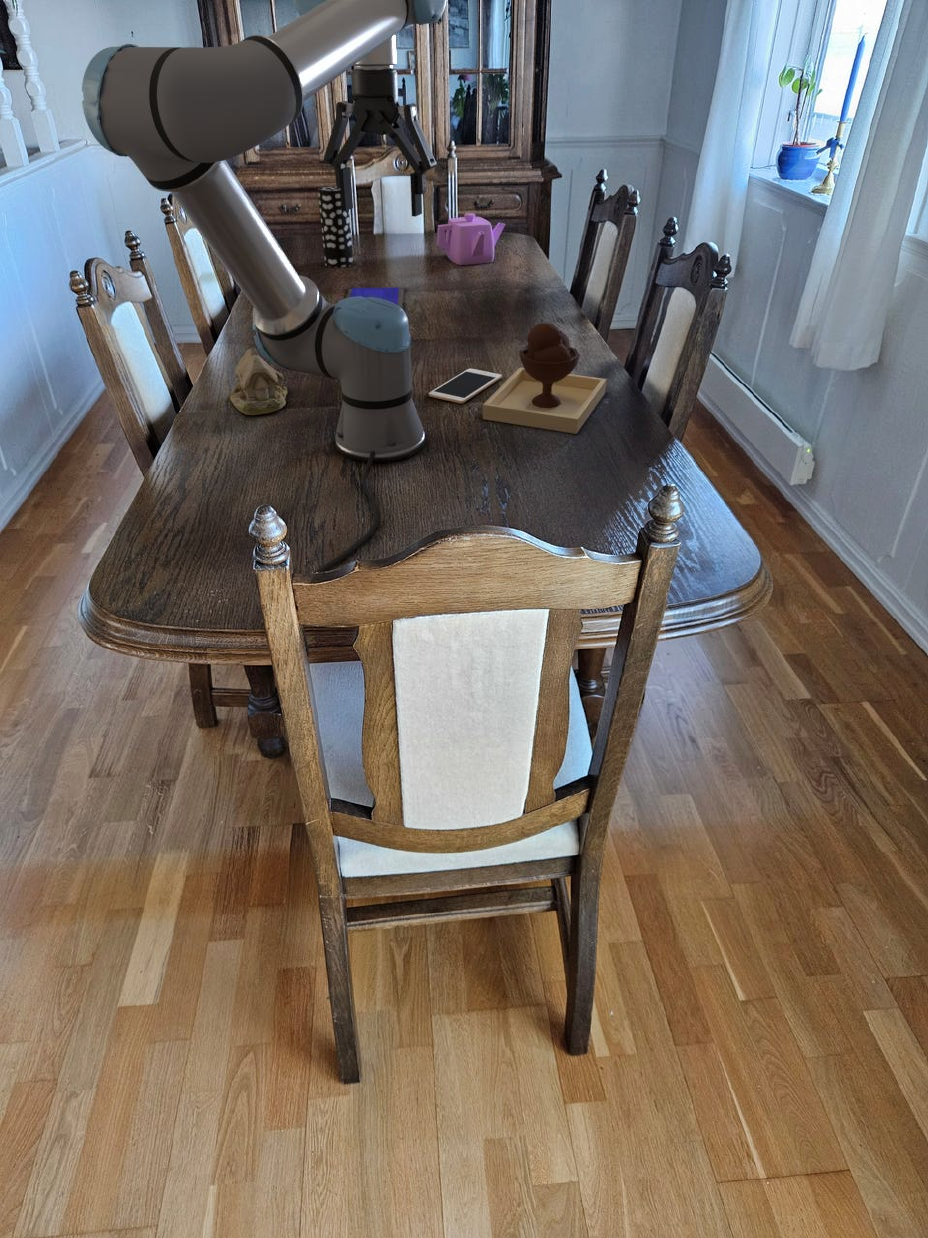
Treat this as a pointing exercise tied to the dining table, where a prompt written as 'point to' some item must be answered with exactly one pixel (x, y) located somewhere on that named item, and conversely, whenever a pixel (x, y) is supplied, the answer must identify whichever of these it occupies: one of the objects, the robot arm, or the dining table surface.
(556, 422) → the tray
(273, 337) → the robot arm
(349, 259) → the spotted tube
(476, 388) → the cell phone
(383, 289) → the booklet
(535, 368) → the ice cream bowl
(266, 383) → the ceramic model
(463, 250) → the teakettle
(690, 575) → the dining table surface
